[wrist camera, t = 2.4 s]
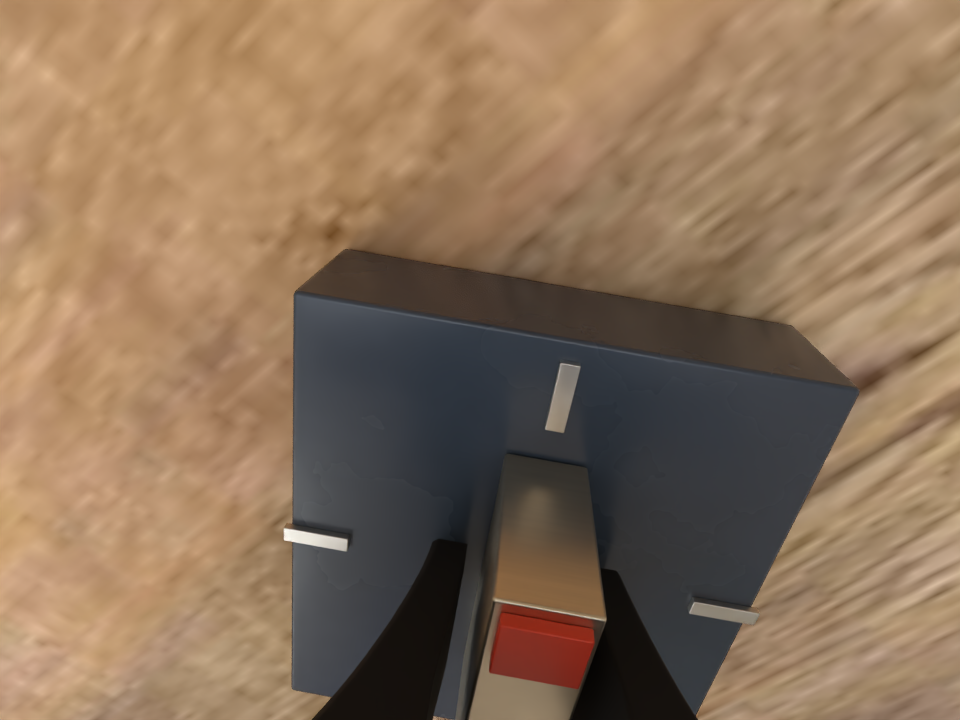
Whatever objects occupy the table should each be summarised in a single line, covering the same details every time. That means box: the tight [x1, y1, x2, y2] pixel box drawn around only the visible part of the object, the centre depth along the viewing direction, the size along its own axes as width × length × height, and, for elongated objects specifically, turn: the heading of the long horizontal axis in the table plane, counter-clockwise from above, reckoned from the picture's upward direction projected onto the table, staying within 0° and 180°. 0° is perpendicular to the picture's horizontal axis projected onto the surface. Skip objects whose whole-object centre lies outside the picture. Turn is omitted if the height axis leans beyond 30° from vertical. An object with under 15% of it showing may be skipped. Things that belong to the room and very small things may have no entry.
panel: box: [284, 249, 859, 720], centre depth 14 cm, size 11×10×3 cm
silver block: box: [455, 454, 607, 720], centre depth 11 cm, size 6×2×4 cm, turn 171°
